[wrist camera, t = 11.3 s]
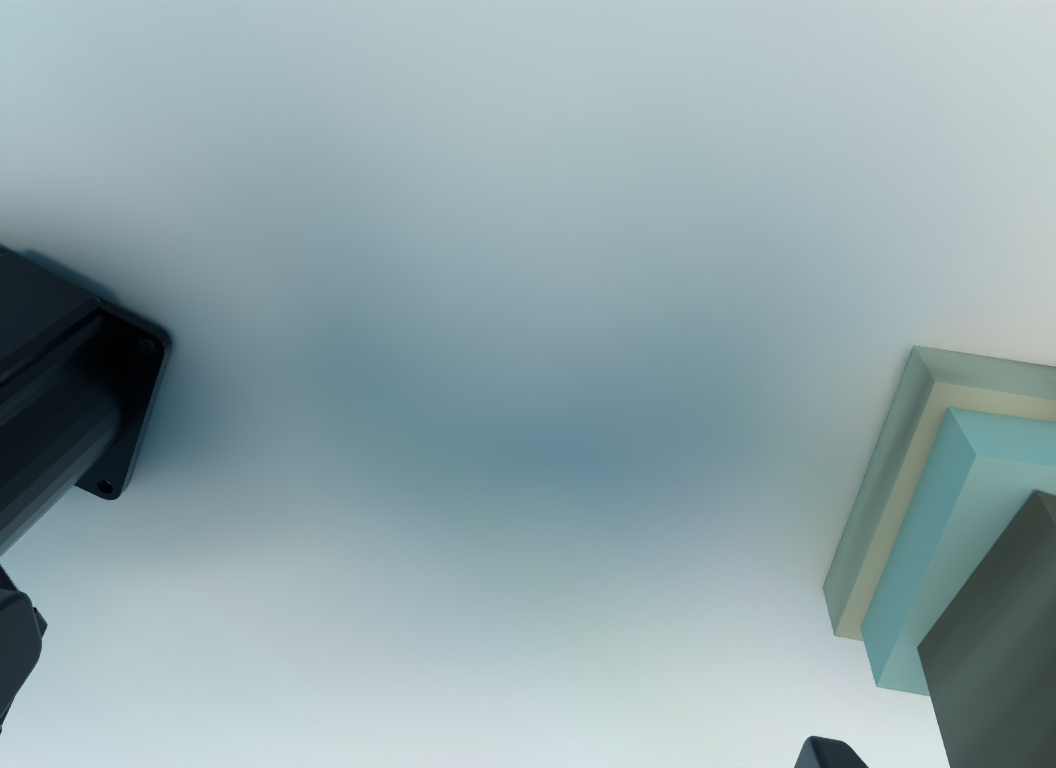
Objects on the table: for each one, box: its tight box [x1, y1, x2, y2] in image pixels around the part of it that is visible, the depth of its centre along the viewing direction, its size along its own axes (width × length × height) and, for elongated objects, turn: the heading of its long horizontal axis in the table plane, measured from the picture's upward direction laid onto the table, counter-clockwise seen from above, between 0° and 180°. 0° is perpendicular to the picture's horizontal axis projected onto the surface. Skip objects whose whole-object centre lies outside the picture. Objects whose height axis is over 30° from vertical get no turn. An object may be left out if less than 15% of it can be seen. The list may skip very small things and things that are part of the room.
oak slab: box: [823, 346, 1056, 641], centre depth 22 cm, size 8×8×2 cm
